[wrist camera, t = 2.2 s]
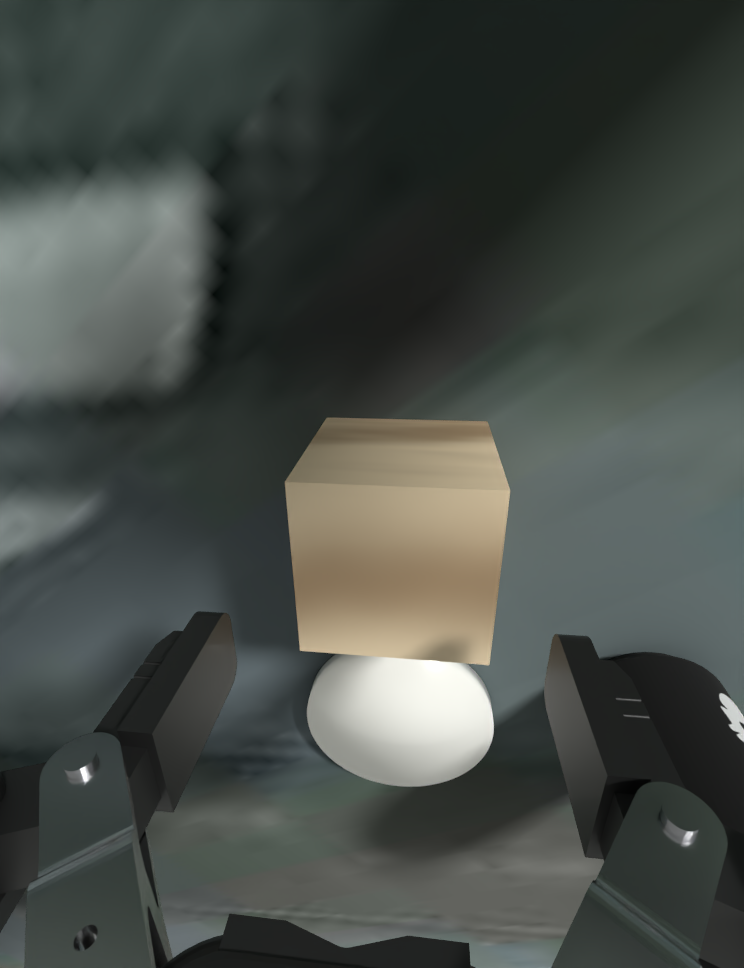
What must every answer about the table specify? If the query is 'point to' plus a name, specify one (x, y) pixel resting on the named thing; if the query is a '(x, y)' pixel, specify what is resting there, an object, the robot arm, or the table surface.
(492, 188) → the table surface
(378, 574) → the oak cube
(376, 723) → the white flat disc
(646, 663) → the beverage can
